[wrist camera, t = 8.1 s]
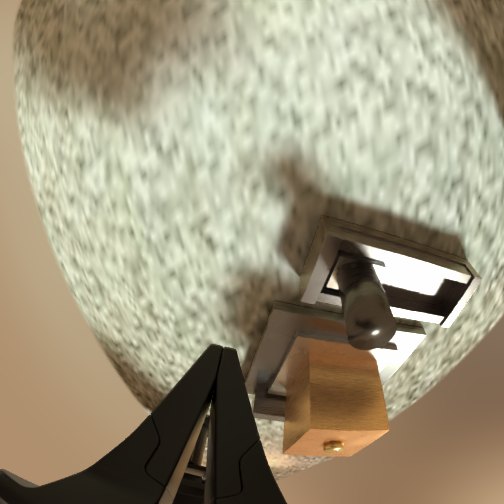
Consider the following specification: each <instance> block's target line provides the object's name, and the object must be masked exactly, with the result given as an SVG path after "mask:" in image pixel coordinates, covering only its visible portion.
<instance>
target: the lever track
mask: <svg viewBox="0 0 504 504" xmlns="http://www.w3.org/2000/svg"><path fill="white" fill-rule="evenodd" d="M338 250H342V251H346V252H350V253H354V254H358V255H362V256H366V257H370V258H374V259H378V260H381V261H384V263H385V265H386V267H387V269H386V271H385V273H384V275H383V277H382V279H381V280H380V281H381V284H382V286H383V289H384V291H385V294H386V296H387V299H388V302H389V304H390V307H391V310H392V312H393V315H394V316H398V317H403V318H409V319H415V320H421V321H427V322H434V323H440V325H441V327H446V328H449V327H450V325H451V324H452V323H453V321H454V320H455V319H456V317H457V316H458V315H459V313H460V312H461V311H462V309H463V308H464V306H465V305H466V303H467V302H468V300H469V299H470V297H471V296H472V294H473V293H474V291H475V290H476V288H477V287H478V285H479V284H480V282H481V280H482V279H481V277H480V276H479V275H478V273H477V272H476V271H475V269H474V268H473V267H472V266H471V264H470V263H469V262H468V260H466V259H463V258H460V257H457V256H454V255H451V254H449V253H446V252H443V251H440V250H437V249H434V248H431V247H428V246H425V245H422V244H419V243H415V242H412V241H409V240H406V239H403V238H400V237H396V236H393V235H390V234H387V233H383V232H380V231H377V230H373V229H370V228H366V227H363V226H359V225H356V224H352V223H349V222H345V221H342V220H338V219H334V218H331V217H327V216H323V215H322V217H321V220H320V223H319V226H318V228H317V231H316V234H315V237H314V240H313V242H312V245H311V248H310V251H309V254H308V256H307V259H306V262H305V264H304V267H303V270H302V272H301V275H300V296H301V302H305V303H309V304H314V305H315V303H316V301H318V302H323V303H328V304H333V305H338V306H342V304H341V299H340V294H339V290H338V289H333V288H329V287H326V282H325V281H326V278H327V276H328V274H329V272H330V269H331V267H332V265H333V262H334V260H335V258H336V255H337V253H338Z"/></svg>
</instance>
